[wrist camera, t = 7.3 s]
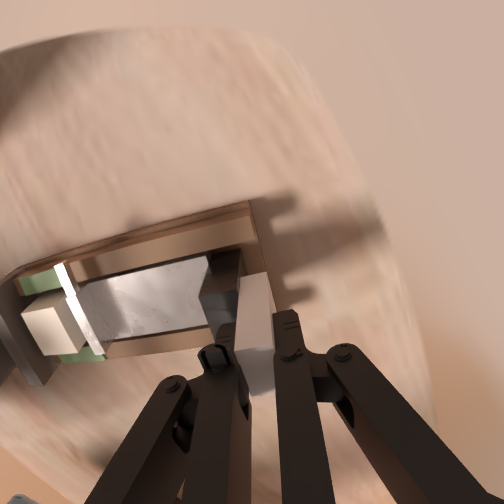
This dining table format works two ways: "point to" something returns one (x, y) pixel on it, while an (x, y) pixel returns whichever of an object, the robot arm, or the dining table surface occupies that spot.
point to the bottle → (5, 363)
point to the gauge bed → (115, 260)
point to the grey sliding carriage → (156, 297)
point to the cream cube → (54, 324)
